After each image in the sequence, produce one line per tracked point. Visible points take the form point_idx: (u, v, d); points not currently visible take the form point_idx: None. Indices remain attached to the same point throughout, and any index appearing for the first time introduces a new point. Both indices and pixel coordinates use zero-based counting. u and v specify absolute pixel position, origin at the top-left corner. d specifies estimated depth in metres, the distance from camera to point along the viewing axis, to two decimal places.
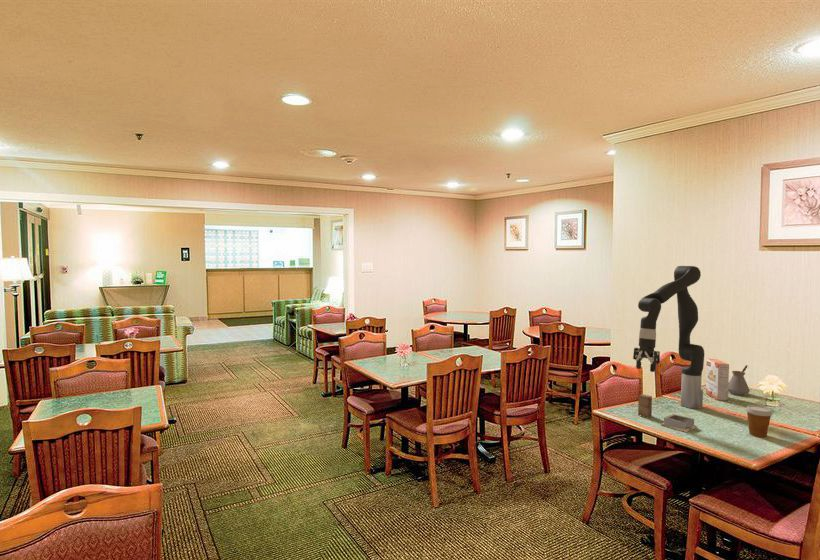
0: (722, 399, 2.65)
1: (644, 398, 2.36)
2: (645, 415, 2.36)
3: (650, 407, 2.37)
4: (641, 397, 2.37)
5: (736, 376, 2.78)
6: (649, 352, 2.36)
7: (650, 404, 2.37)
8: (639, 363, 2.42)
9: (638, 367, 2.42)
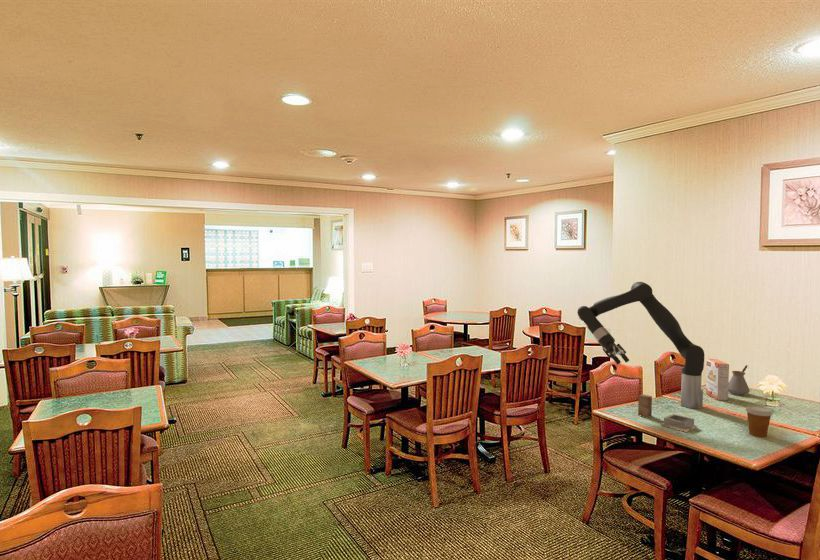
0: (722, 399, 2.65)
1: (644, 398, 2.36)
2: (645, 415, 2.36)
3: (650, 407, 2.37)
4: (641, 397, 2.37)
5: (736, 376, 2.78)
6: None
7: (650, 404, 2.37)
8: (623, 357, 2.50)
9: (626, 360, 2.50)
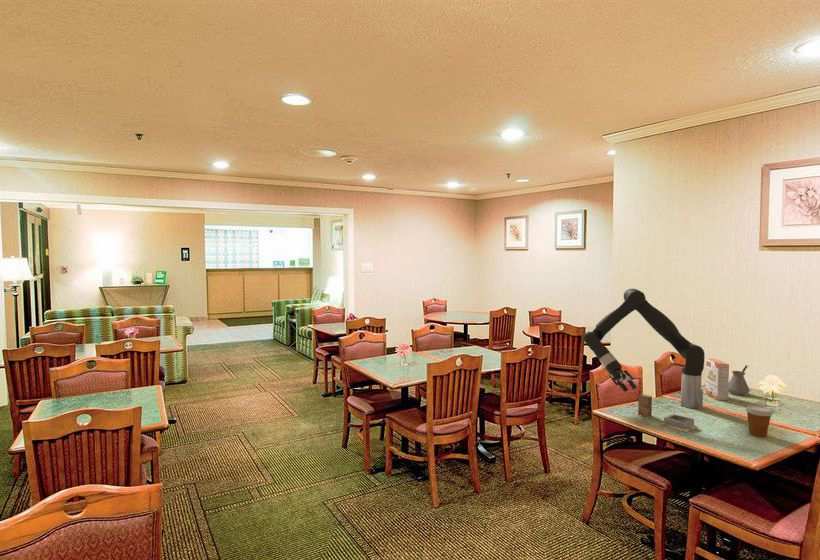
0: (722, 399, 2.65)
1: (644, 398, 2.36)
2: (645, 415, 2.36)
3: (650, 407, 2.37)
4: (641, 397, 2.37)
5: (736, 376, 2.78)
6: None
7: (650, 404, 2.37)
8: (631, 384, 2.48)
9: (633, 387, 2.47)
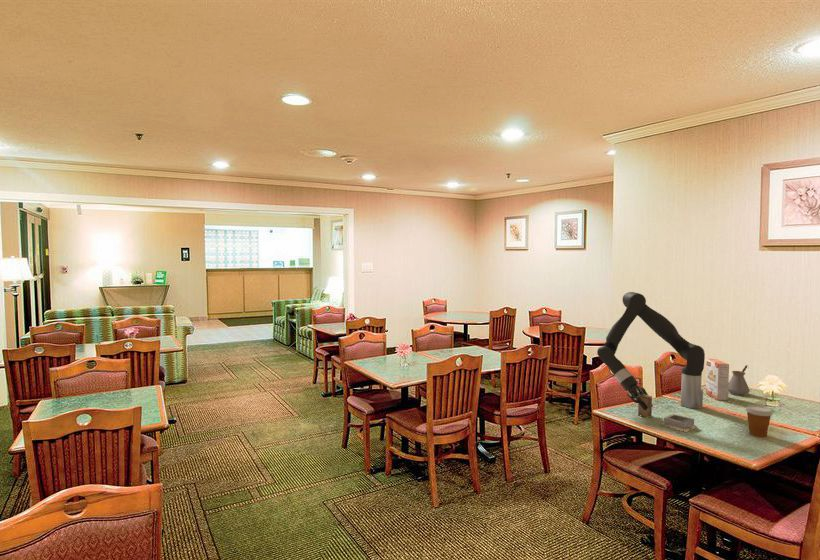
0: (722, 399, 2.65)
1: (644, 398, 2.36)
2: (645, 415, 2.36)
3: (650, 407, 2.37)
4: (641, 397, 2.37)
5: (736, 376, 2.78)
6: None
7: (650, 404, 2.37)
8: None
9: None
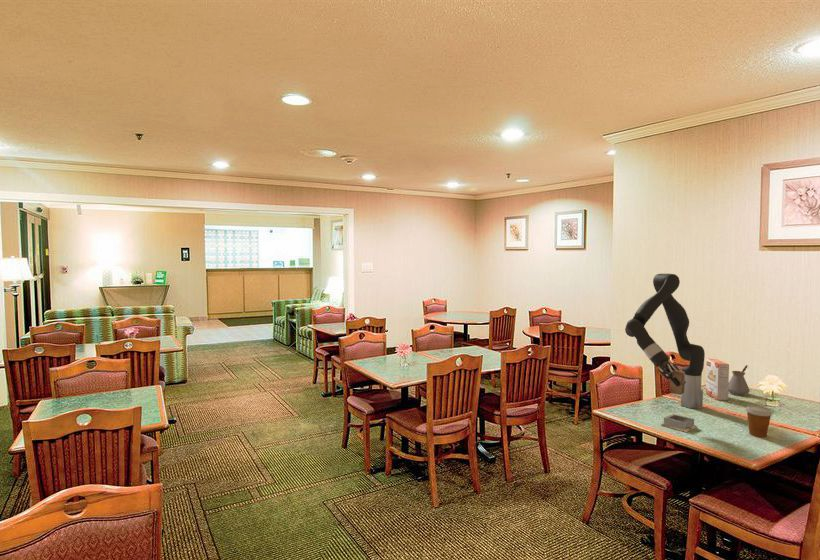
0: (722, 399, 2.65)
1: (676, 374, 2.21)
2: (678, 392, 2.21)
3: (683, 383, 2.22)
4: (673, 373, 2.22)
5: (736, 376, 2.78)
6: None
7: (683, 380, 2.22)
8: None
9: None
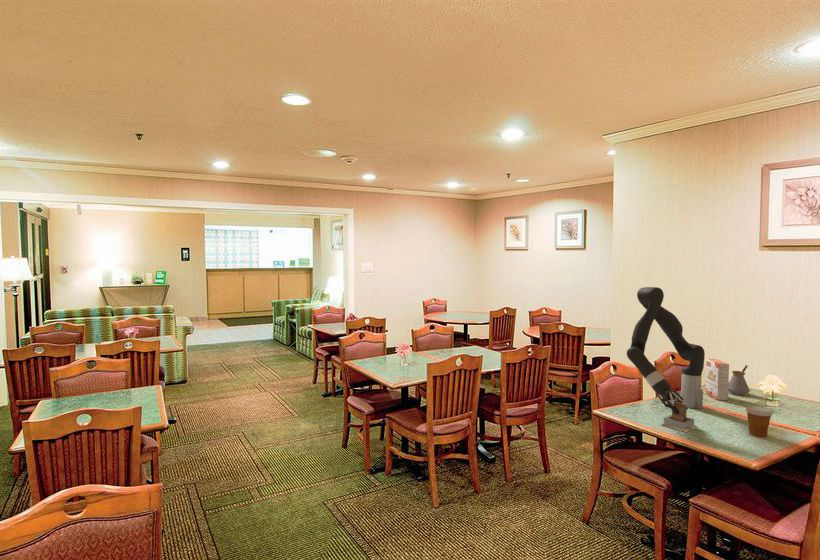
0: (722, 399, 2.65)
1: (678, 406, 2.21)
2: None
3: (685, 415, 2.22)
4: (675, 405, 2.22)
5: (736, 376, 2.78)
6: None
7: (685, 412, 2.22)
8: None
9: None
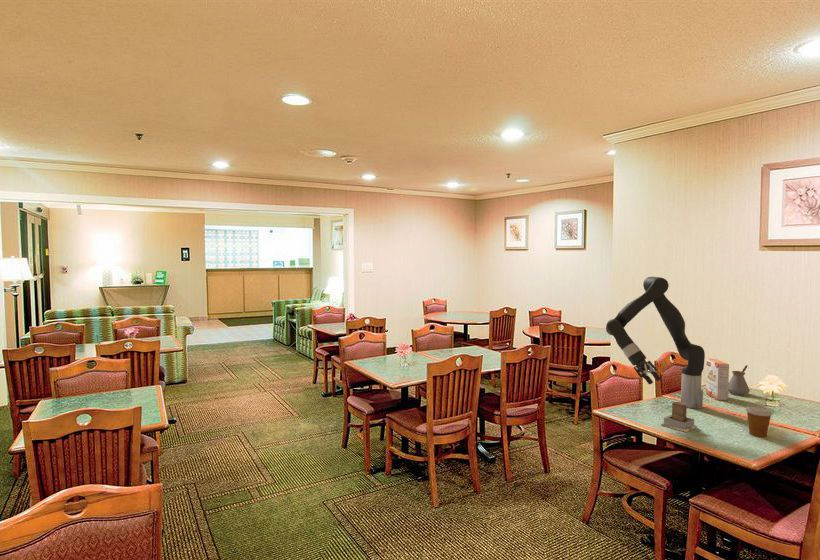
0: (722, 399, 2.65)
1: (678, 406, 2.21)
2: None
3: (685, 415, 2.22)
4: (675, 405, 2.22)
5: (736, 376, 2.78)
6: None
7: (685, 412, 2.22)
8: (655, 375, 2.37)
9: (657, 379, 2.36)
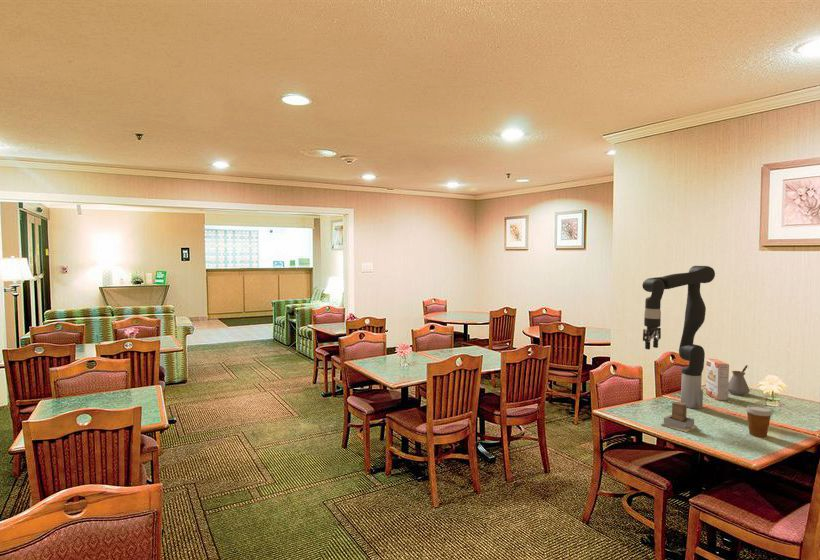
0: (722, 399, 2.65)
1: (678, 406, 2.21)
2: None
3: (685, 415, 2.22)
4: (675, 405, 2.22)
5: (736, 376, 2.78)
6: None
7: (685, 412, 2.22)
8: (655, 342, 2.49)
9: (654, 346, 2.50)
